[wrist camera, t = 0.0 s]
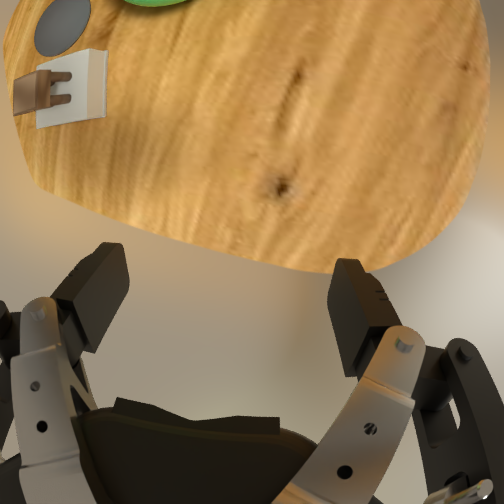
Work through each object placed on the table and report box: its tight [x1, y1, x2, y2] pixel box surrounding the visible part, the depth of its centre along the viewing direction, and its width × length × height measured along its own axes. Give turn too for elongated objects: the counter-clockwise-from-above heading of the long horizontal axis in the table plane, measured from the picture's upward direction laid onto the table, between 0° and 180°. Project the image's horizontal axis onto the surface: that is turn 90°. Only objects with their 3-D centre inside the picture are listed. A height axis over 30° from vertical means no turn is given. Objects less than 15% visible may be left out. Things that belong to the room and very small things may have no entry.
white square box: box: [36, 48, 108, 129], centre depth 28 cm, size 10×10×5 cm
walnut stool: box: [13, 70, 72, 116], centre depth 23 cm, size 5×5×7 cm
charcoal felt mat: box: [34, 0, 91, 56], centre depth 24 cm, size 12×12×1 cm
